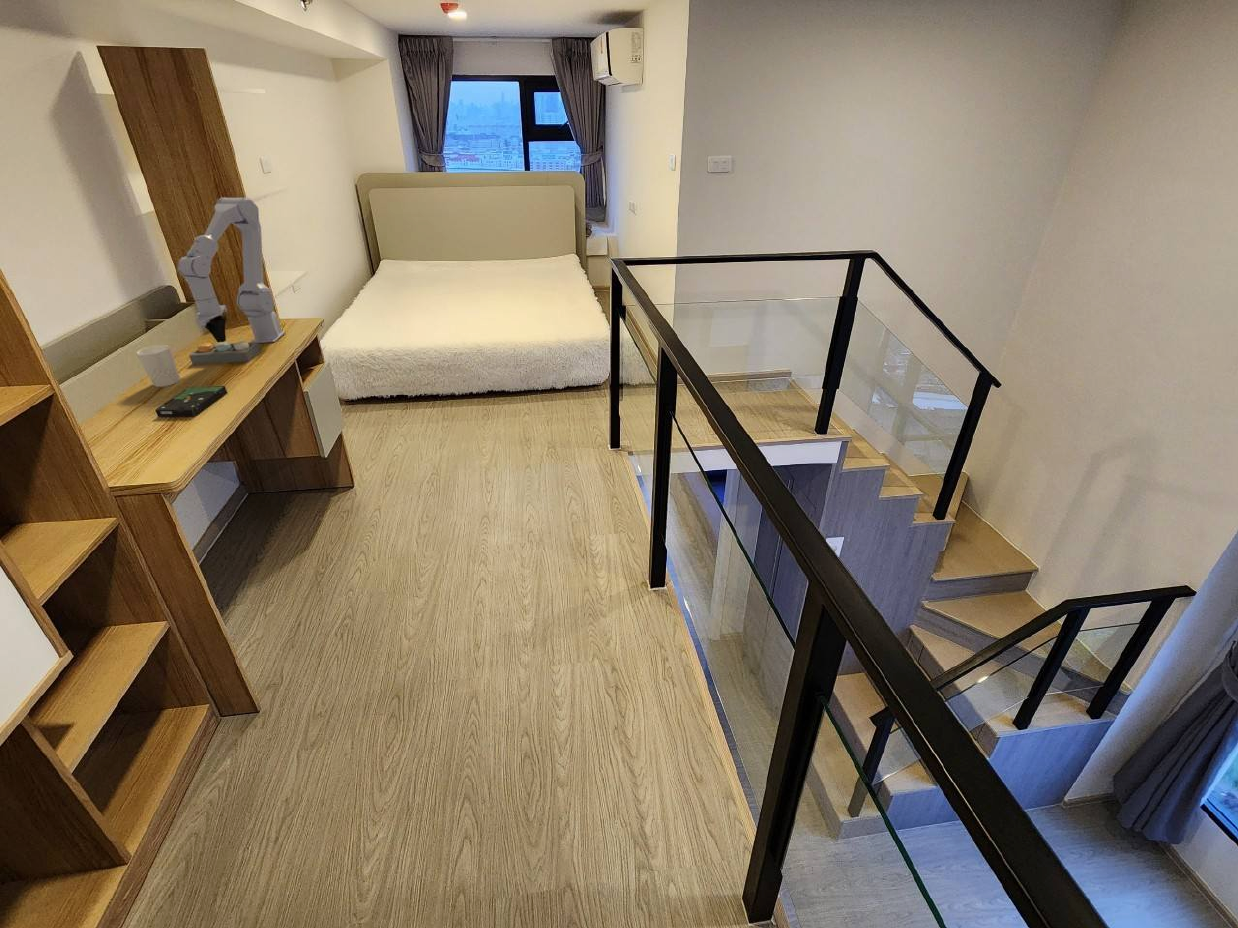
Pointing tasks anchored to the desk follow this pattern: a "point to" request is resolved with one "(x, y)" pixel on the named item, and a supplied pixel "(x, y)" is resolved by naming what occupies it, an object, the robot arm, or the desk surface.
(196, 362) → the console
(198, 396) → the disk drive
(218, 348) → the grey rounded dome
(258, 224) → the robot arm
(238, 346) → the button ivory
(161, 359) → the white cup
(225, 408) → the desk surface
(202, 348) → the button orange
